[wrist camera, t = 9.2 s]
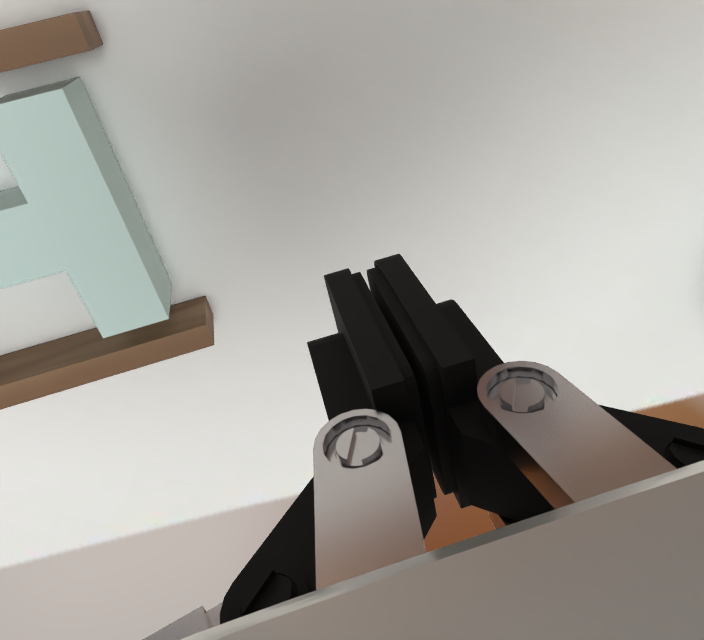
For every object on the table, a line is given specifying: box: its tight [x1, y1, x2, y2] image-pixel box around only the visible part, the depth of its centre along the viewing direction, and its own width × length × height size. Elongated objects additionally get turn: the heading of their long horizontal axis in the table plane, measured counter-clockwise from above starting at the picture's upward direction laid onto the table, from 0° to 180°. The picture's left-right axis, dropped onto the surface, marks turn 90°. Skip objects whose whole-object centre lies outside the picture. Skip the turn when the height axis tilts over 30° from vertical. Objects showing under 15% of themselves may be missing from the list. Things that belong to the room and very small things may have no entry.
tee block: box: [0, 77, 172, 338], centre depth 23 cm, size 10×10×4 cm
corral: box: [0, 11, 214, 410], centre depth 23 cm, size 14×13×3 cm
